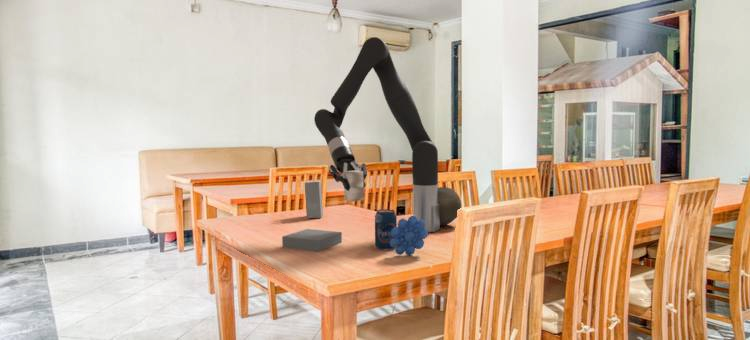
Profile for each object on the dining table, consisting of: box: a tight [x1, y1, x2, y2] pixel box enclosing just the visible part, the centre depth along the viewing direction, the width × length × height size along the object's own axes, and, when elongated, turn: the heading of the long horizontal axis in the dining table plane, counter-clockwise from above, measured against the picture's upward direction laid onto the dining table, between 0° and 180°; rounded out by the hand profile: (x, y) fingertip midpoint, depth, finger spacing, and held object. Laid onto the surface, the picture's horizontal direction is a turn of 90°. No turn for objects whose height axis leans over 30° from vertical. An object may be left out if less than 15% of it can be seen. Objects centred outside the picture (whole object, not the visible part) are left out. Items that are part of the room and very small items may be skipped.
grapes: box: [390, 215, 429, 256], centre depth 154 cm, size 12×7×12 cm, turn 95°
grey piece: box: [343, 171, 365, 202], centre depth 176 cm, size 5×5×10 cm
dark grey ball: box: [438, 186, 462, 227], centre depth 199 cm, size 14×14×15 cm
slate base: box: [281, 228, 343, 252], centre depth 169 cm, size 14×14×4 cm
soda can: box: [374, 208, 398, 251], centre depth 163 cm, size 7×7×12 cm
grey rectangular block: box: [304, 180, 324, 219], centre depth 223 cm, size 8×7×16 cm
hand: (356, 188), depth 175 cm, fingers closed on grey piece, 5 cm apart
